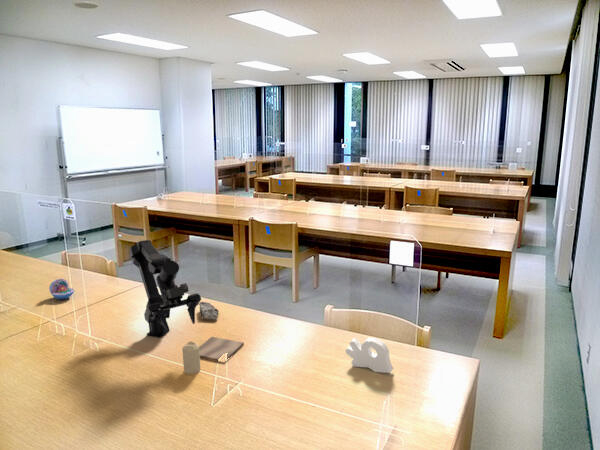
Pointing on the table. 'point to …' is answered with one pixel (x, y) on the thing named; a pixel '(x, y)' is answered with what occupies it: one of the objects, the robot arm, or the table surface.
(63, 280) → the cell model
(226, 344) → the walnut slab
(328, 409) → the table surface
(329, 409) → the table surface
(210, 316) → the mineral rock
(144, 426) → the table surface
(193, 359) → the candle
